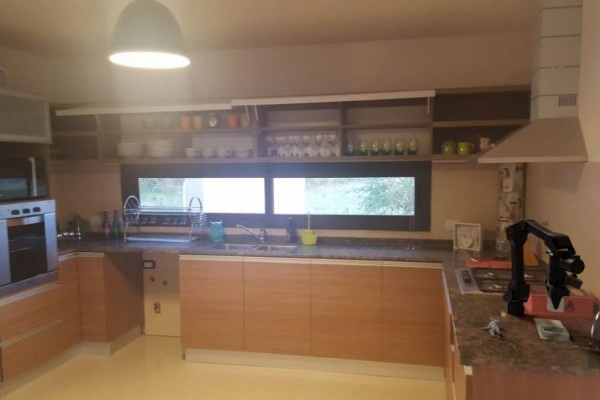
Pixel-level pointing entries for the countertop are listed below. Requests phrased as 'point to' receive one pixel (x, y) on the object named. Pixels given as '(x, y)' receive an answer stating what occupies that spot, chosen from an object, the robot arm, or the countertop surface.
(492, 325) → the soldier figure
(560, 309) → the engine block
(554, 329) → the chassis
